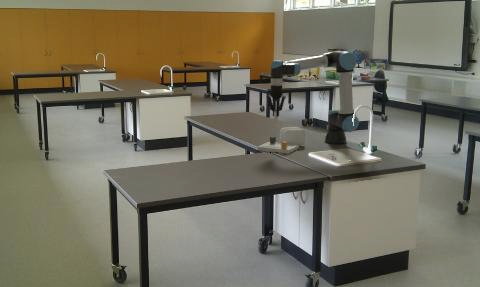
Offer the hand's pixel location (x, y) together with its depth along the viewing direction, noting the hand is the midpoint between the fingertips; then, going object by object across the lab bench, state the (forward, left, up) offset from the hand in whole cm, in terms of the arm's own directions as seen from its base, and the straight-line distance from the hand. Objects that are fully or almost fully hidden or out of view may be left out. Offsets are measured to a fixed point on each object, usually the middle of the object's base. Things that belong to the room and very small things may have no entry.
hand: (275, 121), depth 343 cm
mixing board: (0, -5, -20) cm, 21 cm away
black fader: (+7, -11, -17) cm, 21 cm away
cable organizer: (-2, -24, -20) cm, 31 cm away
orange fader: (-7, 0, -17) cm, 18 cm away
